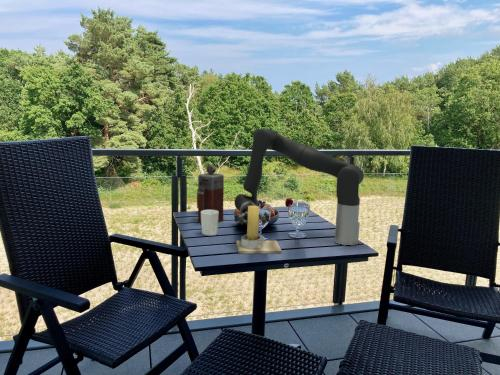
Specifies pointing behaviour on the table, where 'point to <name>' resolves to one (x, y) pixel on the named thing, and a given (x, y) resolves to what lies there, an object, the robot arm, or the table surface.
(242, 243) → the steel ring collar
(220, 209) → the french press
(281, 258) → the table surface
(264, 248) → the birch board
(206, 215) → the white cup
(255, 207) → the ochre steel pin
